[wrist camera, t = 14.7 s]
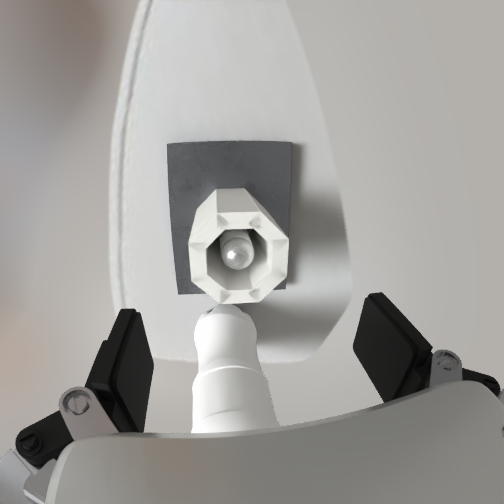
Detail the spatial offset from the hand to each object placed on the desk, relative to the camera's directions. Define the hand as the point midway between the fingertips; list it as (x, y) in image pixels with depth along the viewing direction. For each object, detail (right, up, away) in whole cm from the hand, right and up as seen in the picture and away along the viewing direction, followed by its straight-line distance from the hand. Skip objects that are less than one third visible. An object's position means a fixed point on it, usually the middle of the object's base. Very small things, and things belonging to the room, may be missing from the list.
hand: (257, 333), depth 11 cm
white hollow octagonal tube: (-2, +6, +17) cm, 18 cm away
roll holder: (-3, +7, +18) cm, 20 cm away
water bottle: (-4, -5, +23) cm, 24 cm away
